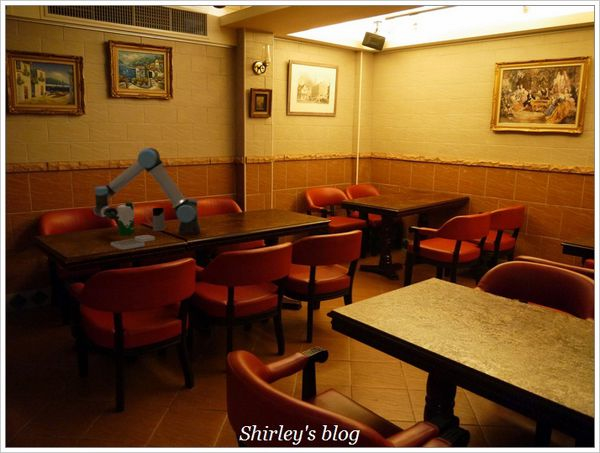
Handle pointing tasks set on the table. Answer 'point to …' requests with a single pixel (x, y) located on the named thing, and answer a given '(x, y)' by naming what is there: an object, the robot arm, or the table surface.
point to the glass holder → (158, 219)
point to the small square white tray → (144, 238)
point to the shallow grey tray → (127, 244)
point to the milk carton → (126, 219)
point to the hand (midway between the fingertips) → (126, 217)
